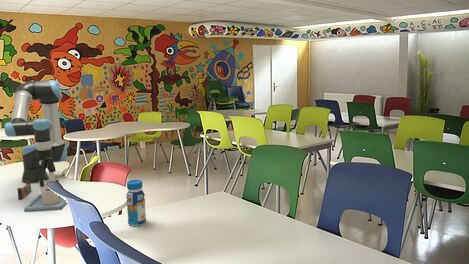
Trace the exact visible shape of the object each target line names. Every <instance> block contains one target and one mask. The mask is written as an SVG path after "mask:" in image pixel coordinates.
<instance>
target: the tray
mask: <svg viewBox="0 0 469 264" xmlns="http://www.w3.org/2000/svg"><path fill="white" fill-rule="evenodd" d="M67 204H68V203H66V200H64V199H63V198H61V197H60V202H59V203H57V204H53V205H44V204H43V203H42V194H39V195H37V196H36V197H35V198H34V199H32V201H30V202H29V203H28V204H27V205H25V206H24V208H23V212H24V213H29V212H30V213H31V212H32V213H33V212H45V211H46V212H48V211H61V210H63V208H64V207H66V205H67Z"/></svg>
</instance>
